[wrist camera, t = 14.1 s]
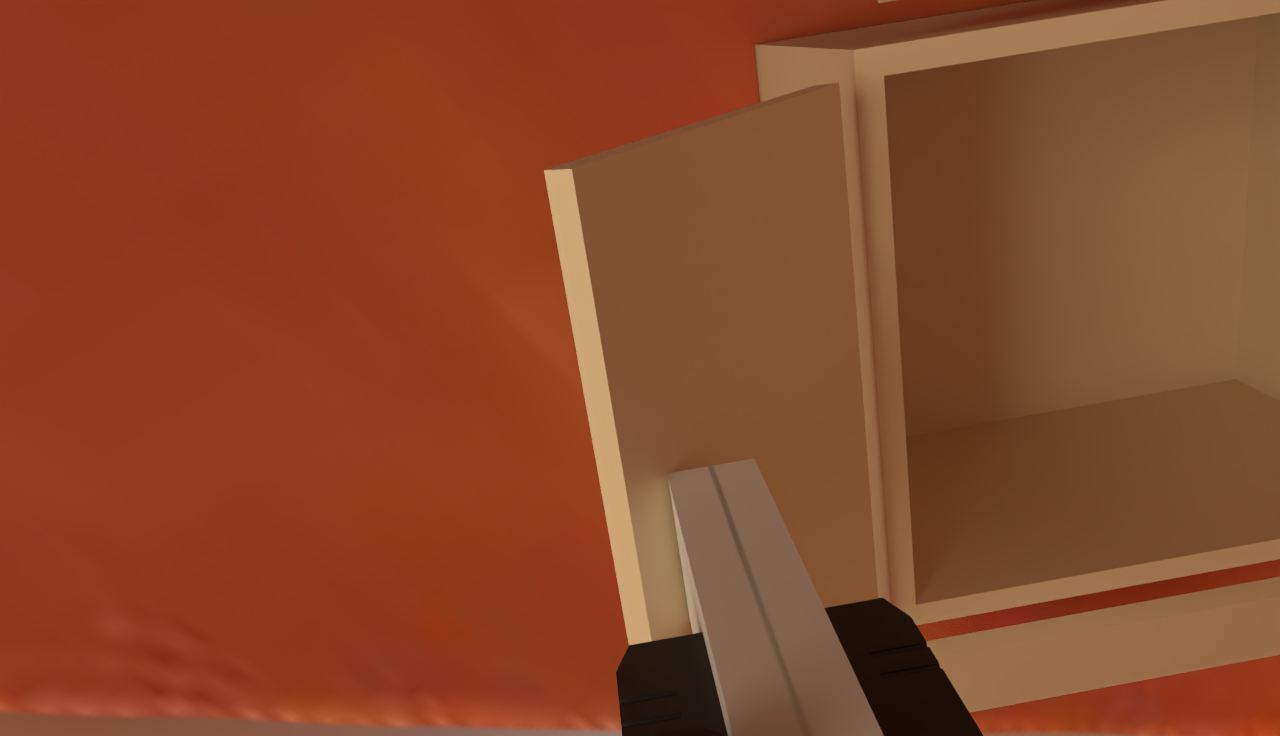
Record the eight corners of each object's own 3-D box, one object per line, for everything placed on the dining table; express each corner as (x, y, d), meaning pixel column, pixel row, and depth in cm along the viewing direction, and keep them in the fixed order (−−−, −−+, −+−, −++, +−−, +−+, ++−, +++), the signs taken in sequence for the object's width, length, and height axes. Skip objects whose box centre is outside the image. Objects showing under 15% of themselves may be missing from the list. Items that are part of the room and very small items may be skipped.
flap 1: (881, 641, 23) (861, 636, 24) (839, 82, 19) (816, 84, 19) (695, 899, 17) (672, 888, 18) (571, 169, 13) (544, 169, 13)
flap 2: (923, 661, 25) (917, 642, 25) (890, 726, 30) (885, 710, 30) (1469, 561, 25) (1457, 544, 26) (1349, 641, 30) (1339, 626, 31)
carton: (797, 466, 34) (893, 632, 25) (754, 44, 29) (853, 49, 20) (1239, 389, 35) (1499, 522, 25) (1267, -37, 30) (1598, -69, 20)
